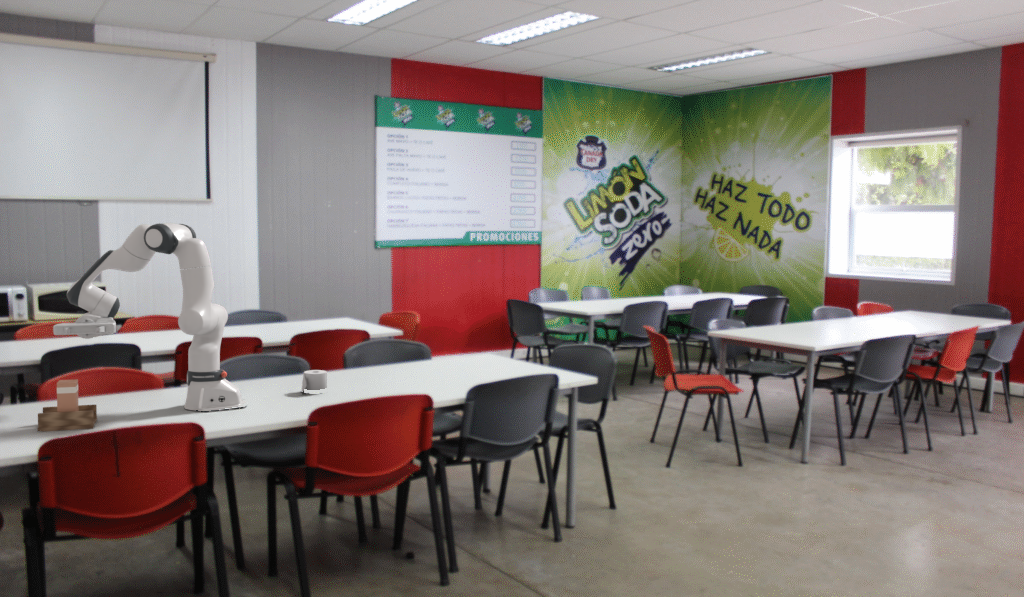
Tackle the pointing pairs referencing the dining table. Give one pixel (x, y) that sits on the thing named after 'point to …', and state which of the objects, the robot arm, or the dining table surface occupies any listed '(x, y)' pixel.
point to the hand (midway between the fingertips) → (83, 330)
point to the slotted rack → (67, 418)
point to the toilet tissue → (314, 380)
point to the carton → (67, 395)
